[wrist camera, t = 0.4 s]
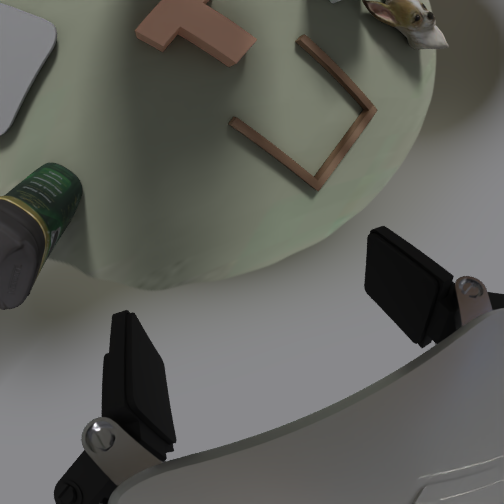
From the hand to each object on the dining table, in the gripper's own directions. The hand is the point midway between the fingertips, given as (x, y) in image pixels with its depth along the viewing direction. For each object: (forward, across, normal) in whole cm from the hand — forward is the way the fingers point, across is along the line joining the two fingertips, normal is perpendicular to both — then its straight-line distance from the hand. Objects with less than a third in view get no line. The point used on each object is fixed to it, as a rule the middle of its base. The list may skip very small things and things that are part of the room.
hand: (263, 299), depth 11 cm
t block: (+29, -4, -17) cm, 34 cm away
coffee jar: (+30, +19, -1) cm, 35 cm away
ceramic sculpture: (+30, -38, -19) cm, 51 cm away
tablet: (+30, +26, -26) cm, 47 cm away
